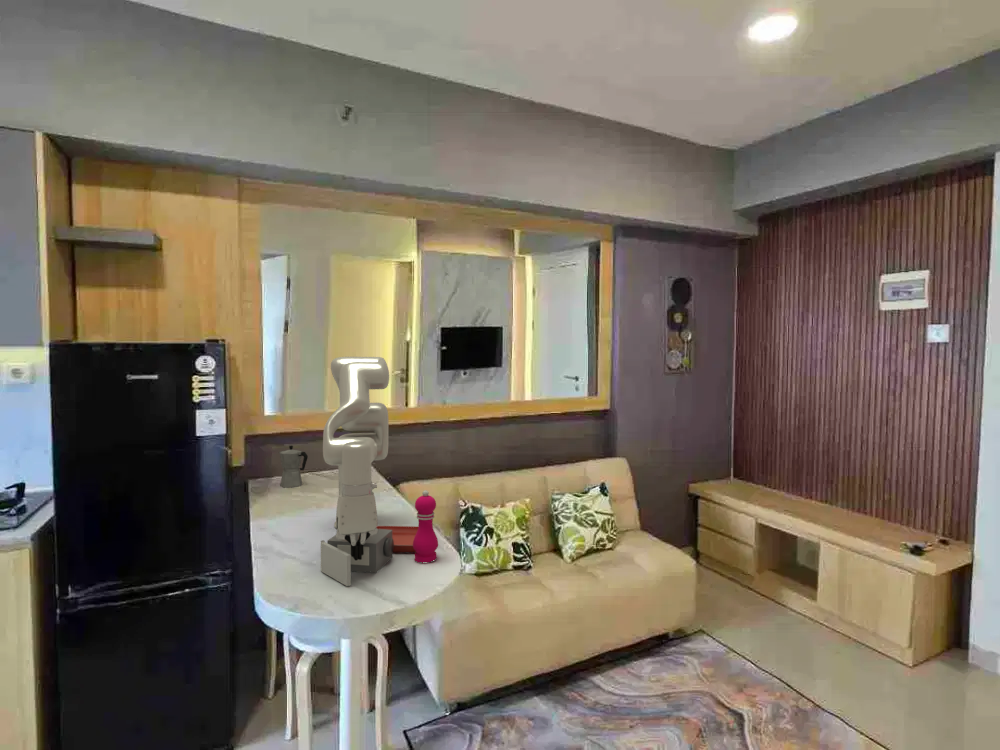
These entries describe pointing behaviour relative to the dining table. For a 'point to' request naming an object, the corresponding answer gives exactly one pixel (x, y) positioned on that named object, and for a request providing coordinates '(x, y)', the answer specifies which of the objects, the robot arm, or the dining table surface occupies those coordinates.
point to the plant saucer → (402, 537)
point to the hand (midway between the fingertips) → (357, 558)
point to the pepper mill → (425, 529)
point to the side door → (336, 563)
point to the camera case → (369, 551)
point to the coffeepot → (292, 467)
